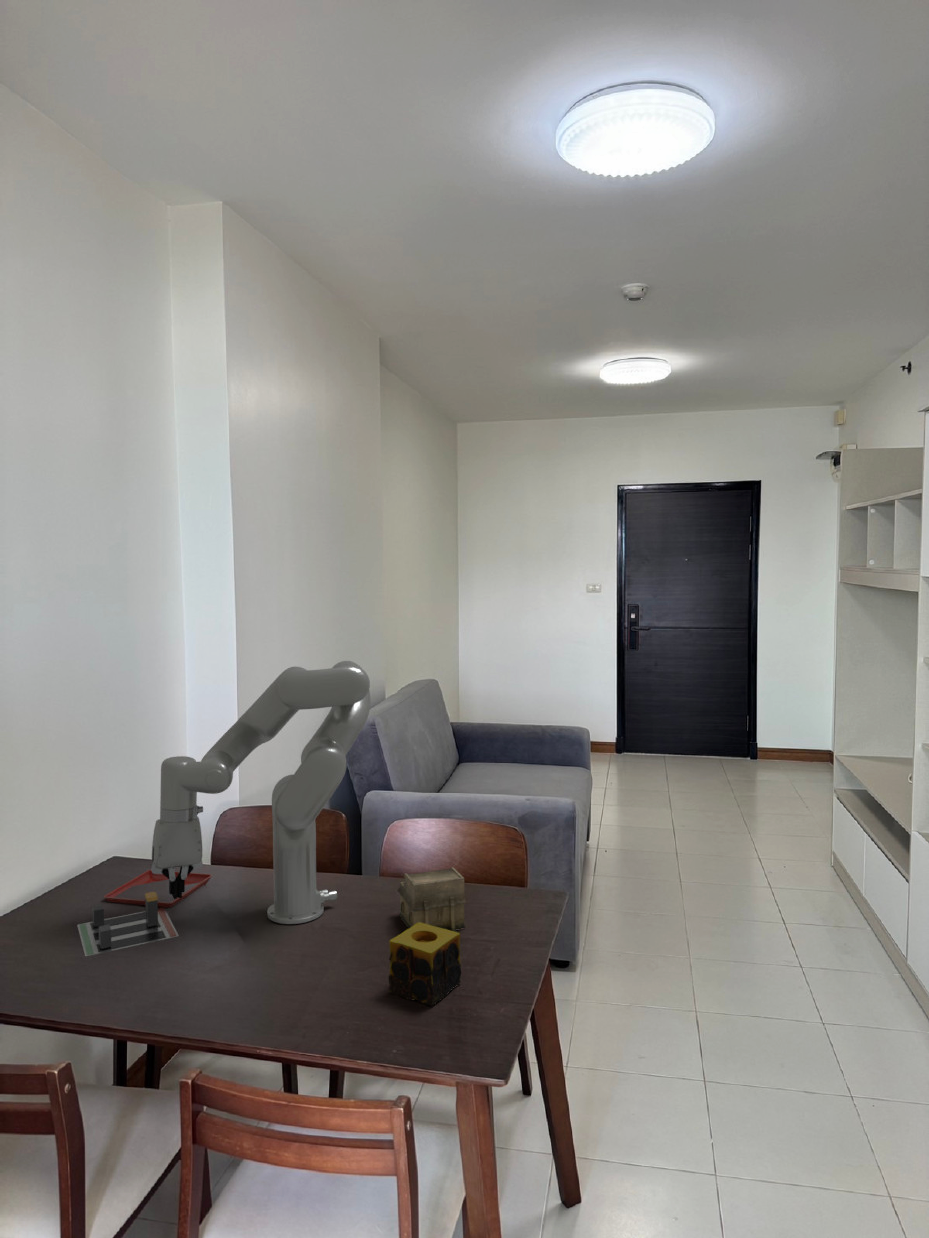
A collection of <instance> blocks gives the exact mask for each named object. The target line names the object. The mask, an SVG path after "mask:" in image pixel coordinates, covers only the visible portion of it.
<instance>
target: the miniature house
mask: <svg viewBox="0 0 929 1238" xmlns="http://www.w3.org/2000/svg"><path fill="white" fill-rule="evenodd" d="M403 879H404V881H400V882H399V888H397V892H398V893H399V898H400V899H399V908H400V909H399V917H401V918H400V919H401V921H402V920H403V921H402V922H403V924H404V923H405V924H406V925H405V924H404V925H405V926H407V927H408V928H407V927H406V928H407V929H409V928H411V927H412V926H413V925H415V924H416V923H419V922H421V923H424V924H428V925H432V926H435V927H439V928H443V929H447V930H450V931H454V932H457V931H456V929H461V928H465V929H466V926H465V904H467V903H468V902H467V900H466V899H465V877H464V876H463V875H462V874H461V873H460V872H459V871H458V870H457V869H456V868H455V867H453V866H452V867H450V868H447V869H439V870H431V871H424V872H418V873H410V874H409V873H404V878H403Z"/></svg>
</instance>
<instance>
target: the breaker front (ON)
mask: <svg viewBox="0 0 929 1238" xmlns="http://www.w3.org/2000/svg"><path fill="white" fill-rule="evenodd" d="M99 944H100V948H101V949H103V948H107V947H112V946H111V928H110V925H109V924H108V925H103V926H99Z"/></svg>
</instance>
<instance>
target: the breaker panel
mask: <svg viewBox="0 0 929 1238" xmlns="http://www.w3.org/2000/svg"><path fill="white" fill-rule="evenodd" d="M108 924H109V925H110V928H111V946H112V947H107V948H103V949H101V948H100V944H99V926H95V927H94V924H93V921H89V922H85V923H84V922H83V923H79V924H77V926H76V927H77V930H78V934H79V937H80V942H81V946H82V950H83V953H84V957H90V956H93V955H98V954H104V953H109V952H114V951H117V950H122V949H127V948H130V947H131V948H132V947H135V946H139V945H140V946H141V945H144V944H149V943H153V942H159V941H163V940H169V939H172V938H176V937H179V936H180V935H179V934H178V931H177V929H176V928H175V926H174V924H173V921H172V920H171V918H170V916H169V914H168V913H167V910H166V909H165V907H160V908H158V925H155V926H150V927H148V925H147V923H146V910H144V911H140V912H134V913H130V914H126V915H125V914H124V915H119V916H115V917H108V918H104V925H108ZM100 926H103V925H100Z"/></svg>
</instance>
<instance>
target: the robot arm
mask: <svg viewBox="0 0 929 1238" xmlns="http://www.w3.org/2000/svg"><path fill="white" fill-rule="evenodd" d="M370 687H371V683H370V678H369V675H368V674H367V672H366V670H364V669H363V668H362V667H361V665H359V664H358V663H356V662H354V661H351V660H342V661H339V662H337V663H336V664H335V665H334V666H332V667H331V668H321V669H310V670H309V669H308V670H307V668H306V669H305V668H303V667H301V666H290V667H288V668H286V669H285V670H283V671H282V672H281V673H280V674H279V675H278V676H277V677H276V678H275V680H274V681H273V682H272V683H270V684H269V686H268V687H267V688H266V690H264V691H263V692H262V694H261V695H260V696H258V698H257V699H256V700H255V701H254V702H253V703H252V705H251V706H249V707H248V709H247V710H246V711H245V712H244V713H243V714H242V715H240V717H239V718H238V719H237V720H236V722H234V723H233V725H232V726H231V727H229V729H228V730H226V732H224V733H223V735H222V736H221V737H220V738H219V739H218V740H217V741H216V742H215V743H214V744H213V745H212V747H210V749H209V750H208V751H207V752H206V754H205V755H204V756H203V757H202V758H201V760H199V761H197V760H196V759H195V758H193V757H192V756H191V757H190V756H185V755H184V756H183V755H181V756H178V755H177V756H172V757H168V758H165V759H164V760H163V761H162V762H161V766H160V799H159V800H160V801H159V803H160V805H159V806H160V807H159V819H157V820H156V821H155V824H154V829H153V835H152V845H151V846H152V847H151V861H152V865H151V868H150V870H151V871H152V873H154V874H163V875H164V876H166V877H167V878H168V880H169V881H168V893H169V895H171V896H172V898H173V899H174V900H175V899H177V898H182V895H183V893H185V892H186V891H185V889H186V885H185V879H186V878H187V876H188V875H189V873H192V872H193V870H197V869H199V868H202V867H203V865H204V864H203V836H202V827H201V822H200V818H199V816H198V815H199V814H200V813H204V807H203V806H202V805H201V806H199V805H198V804H197V803H198V802H197V801H198V800H197V798H198V796H197V795H198V794H197V793H203V794H211V795H212V794H213V795H216V794H217V795H218V794H221V793H223V792H225V791H226V790H228V789H229V788H230V786H231V785H232V783H233V778H234V772H235V771H236V769H238V767H239V766H240V765H241V764H242V763H243V761H245V759H246V758H247V757H248V756H249V755H250V754H252V752H254V751H255V749H257V748H258V747H259V746H261V745H263V744H265V743H267V742H270V741H271V740H272V739H274V738H275V737H276V736H277V735H278V734H279V732H280V731H282V729H283V728H284V727H285V726H286V724H288V723H289V722H290V720H291V719H292V718H293V717H294V716H295V715H296V714H297V713H298V711H301V710H314V709H315V710H316V709H324V708H330V710H329V712H328V714H327V715H326V717H325V718H324V720H323V722H322V723H321V725H320V726H319V727H318V729H317V730H316V732H315V733H314V734H313V736H312V737H311V739H309V741H308V742H307V744H306V745H305V746H303V747H304V748H303V750H302V752H301V755H300V765H299V766H298V767H297V769H296V771H295V772H294V774H289V775H286V776H283V777H282V778H281V779H279V780H278V781H277V782H276V784H275V785H274V786H273V787H274V788H273V790H272V794H271V812H272V814H271V815H272V817H271V818H272V856H273V861H272V862H273V904H271V905H270V906H269V907H268V908H267V912H266V913H267V914H266V915H267V918H268V919H269V920H270V921H272V922H273V923H278V924H281V925H296V924H298V925H299V924H305V923H308V922H311V921H314V920H316V919H318V918H319V917H321V916H322V915H323V913H324V910H325V909H324V907H325V906H324V903H325V902H326V901H333V900H337V898H338V893H337V891H336V890H330V891H328V888H325V889H321V890H318V889H317V851H316V850H317V831H316V830H317V828H316V819H317V817H318V816H319V815H320V813H321V811H323V809H324V808H325V806H326V805H327V803H328V802H329V800H330V799H331V798H332V796H333V795H334V793H335V792H336V791H337V789H338V787H339V786H340V784H341V782H342V780H343V778H344V777H345V774H346V771H347V759H346V756H347V755H348V752H349V751H350V750H351V748H352V747H353V745H354V744H355V741H356V740H357V738H358V737H359V735H360V733H361V732H362V730H363V728H364V727H365V725H366V722H367V721H368V717H369V715H370V709H371V692H370ZM175 868H179V869H178V872H179V874H178V876H177V877H176V876H175V872H176V871H175Z"/></svg>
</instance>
